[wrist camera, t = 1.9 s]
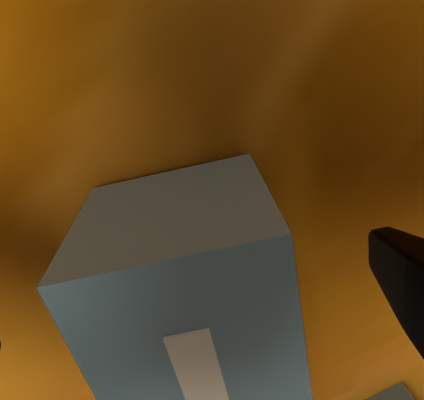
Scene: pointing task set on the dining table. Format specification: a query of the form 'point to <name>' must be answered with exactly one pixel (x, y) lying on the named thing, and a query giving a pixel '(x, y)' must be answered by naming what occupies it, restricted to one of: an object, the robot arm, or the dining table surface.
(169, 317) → the stub
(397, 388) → the torn stub
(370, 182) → the dining table surface
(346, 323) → the dining table surface
